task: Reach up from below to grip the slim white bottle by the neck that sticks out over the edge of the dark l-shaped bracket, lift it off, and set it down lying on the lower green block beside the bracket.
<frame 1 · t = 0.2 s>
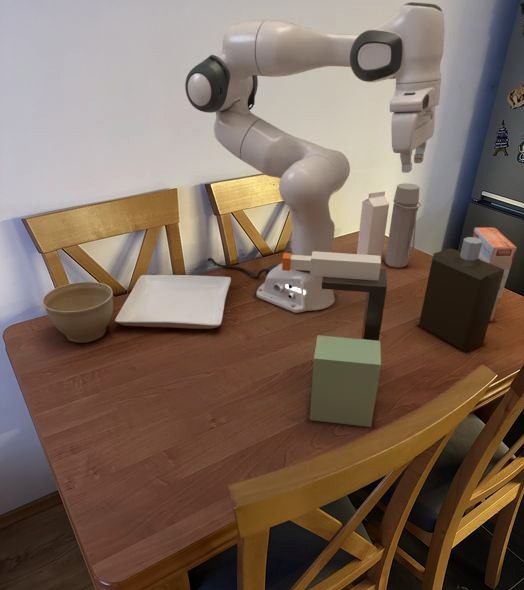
hand: (412, 167, 108), 39 cm above the table, tool pointing down, fingers open, 8 cm apart
milk: (368, 259, 163), on the table
green block: (340, 410, 100), on the table
bottle: (449, 335, 123), on the table
cracker box: (474, 309, 134), on the table
planter bowl: (87, 334, 125), on the table
dark l-shaped bracket: (343, 378, 109), on the table
square plate: (178, 308, 135), on the table
white bottle: (344, 274, 95), point 25 cm above the table, touching dark l-shaped bracket
water bottle: (398, 265, 158), on the table
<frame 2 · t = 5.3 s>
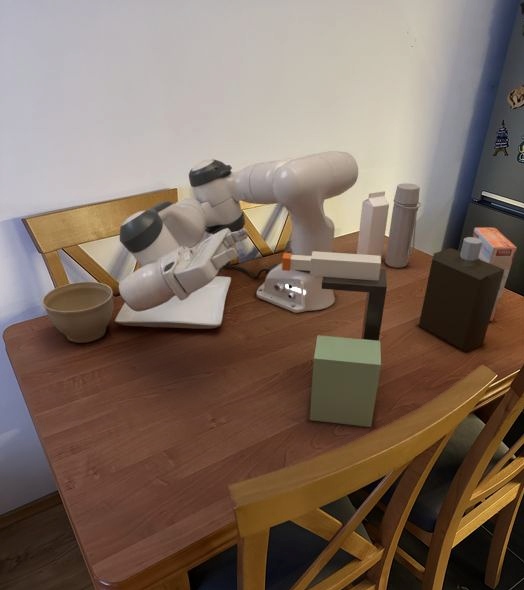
hand: (241, 241, 95), 30 cm above the table, tool pointing upward, fingers open, 8 cm apart
nothing on the table moved.
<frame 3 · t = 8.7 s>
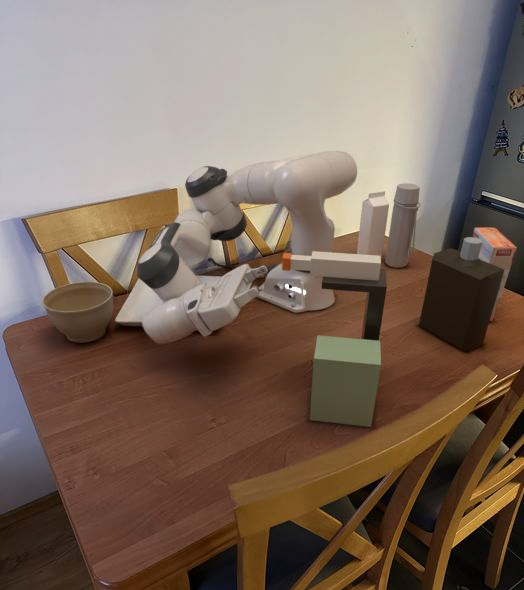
hand: (262, 279, 99), 23 cm above the table, tool pointing upward, fingers open, 8 cm apart
nothing on the table moved.
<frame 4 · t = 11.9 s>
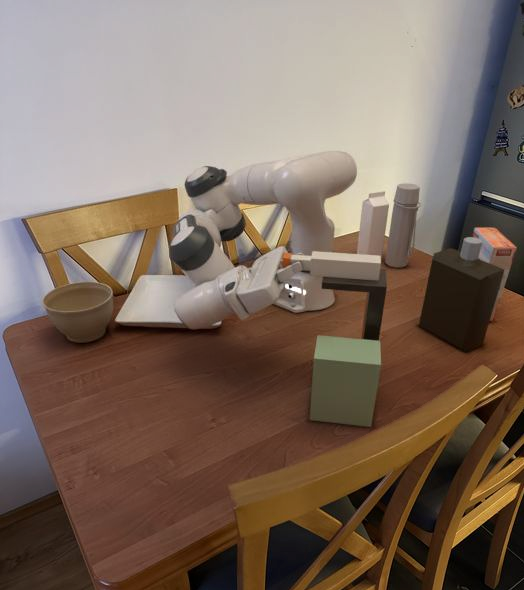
hand: (302, 260, 95), 27 cm above the table, tool pointing upward, fingers closed on white bottle, 2 cm apart
white bottle: (344, 274, 95), point 25 cm above the table, touching gripper, dark l-shaped bracket
everything else where it was.
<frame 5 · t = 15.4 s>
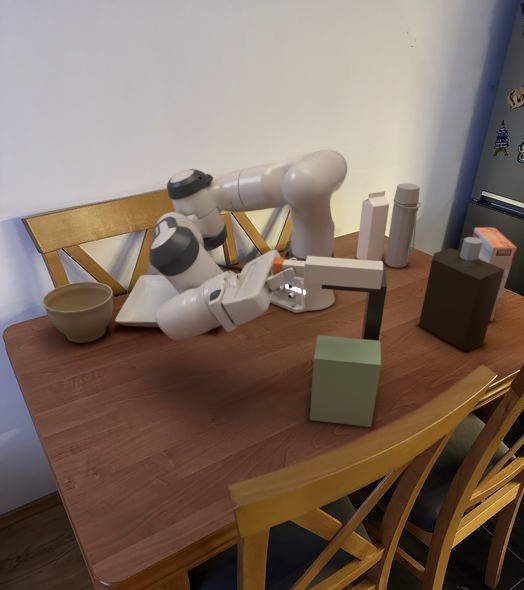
hand: (295, 266, 85), 30 cm above the table, tool pointing upward, fingers closed on white bottle, 2 cm apart
white bottle: (342, 281, 85), point 28 cm above the table, touching gripper
everything else where it was.
when the fingers open (17 cm above the table, at t = 19.1 s): white bottle stays where it is, resting on green block.
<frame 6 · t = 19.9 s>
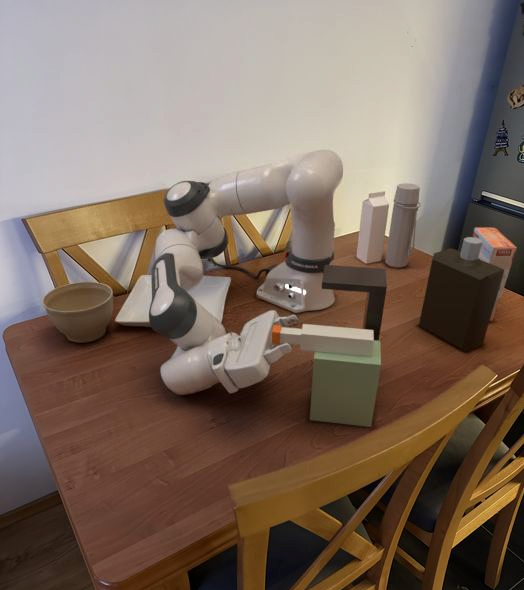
hand: (293, 331, 91), 18 cm above the table, tool pointing upward, fingers open, 8 cm apart
white bottle: (335, 348, 92), point 15 cm above the table, touching green block
everything else where it was.
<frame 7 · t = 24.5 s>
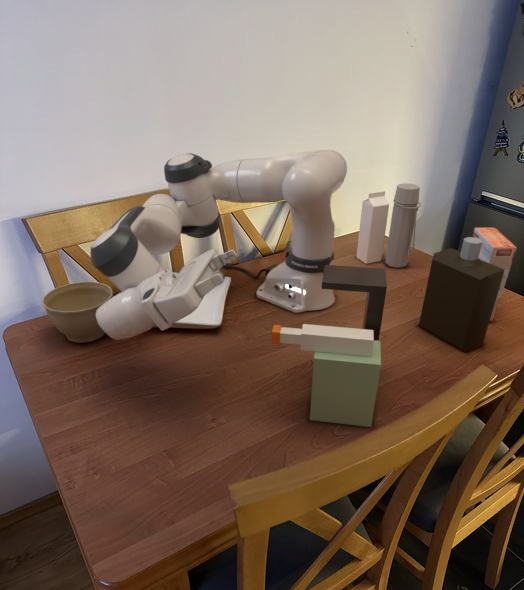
hand: (228, 264, 86), 30 cm above the table, tool pointing upward, fingers open, 8 cm apart
nothing on the table moved.
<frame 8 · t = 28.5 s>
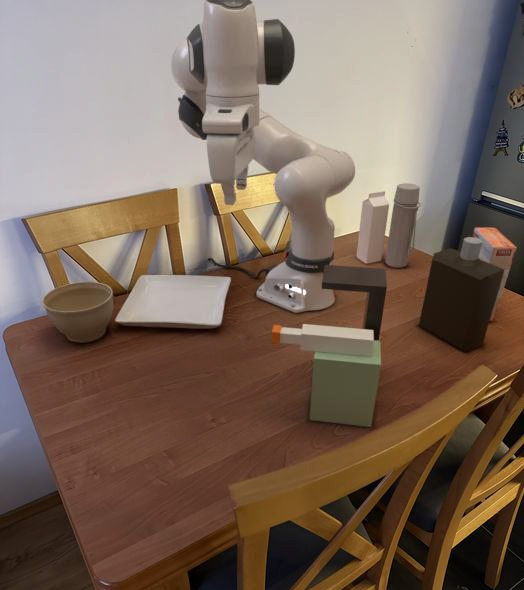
hand: (236, 196, 90), 39 cm above the table, tool pointing down, fingers open, 8 cm apart
nothing on the table moved.
at the end: white bottle 0.3 cm from the target spot on the green block, point 15.0 cm above the green block's base; white bottle tilted 0°; the gripper is holding nothing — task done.
